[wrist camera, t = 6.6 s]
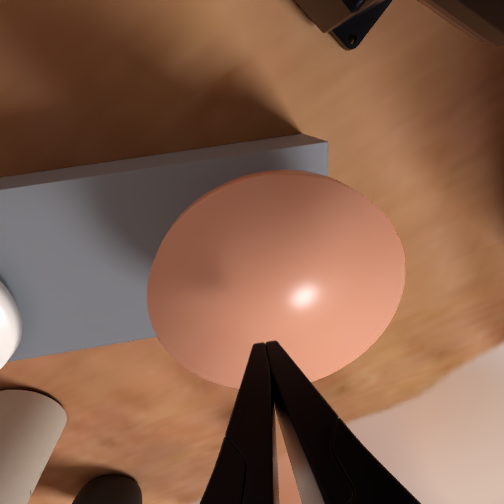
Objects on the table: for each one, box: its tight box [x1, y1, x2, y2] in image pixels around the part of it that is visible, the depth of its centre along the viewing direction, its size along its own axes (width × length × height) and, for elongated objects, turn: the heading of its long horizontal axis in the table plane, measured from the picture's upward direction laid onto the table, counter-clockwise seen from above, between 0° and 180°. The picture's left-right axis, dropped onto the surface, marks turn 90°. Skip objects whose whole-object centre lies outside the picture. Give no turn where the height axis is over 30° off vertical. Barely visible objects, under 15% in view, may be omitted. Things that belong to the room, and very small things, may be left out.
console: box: [0, 134, 328, 362], centre depth 19 cm, size 28×11×5 cm, turn 97°
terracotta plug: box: [147, 170, 406, 389], centre depth 15 cm, size 11×11×6 cm
